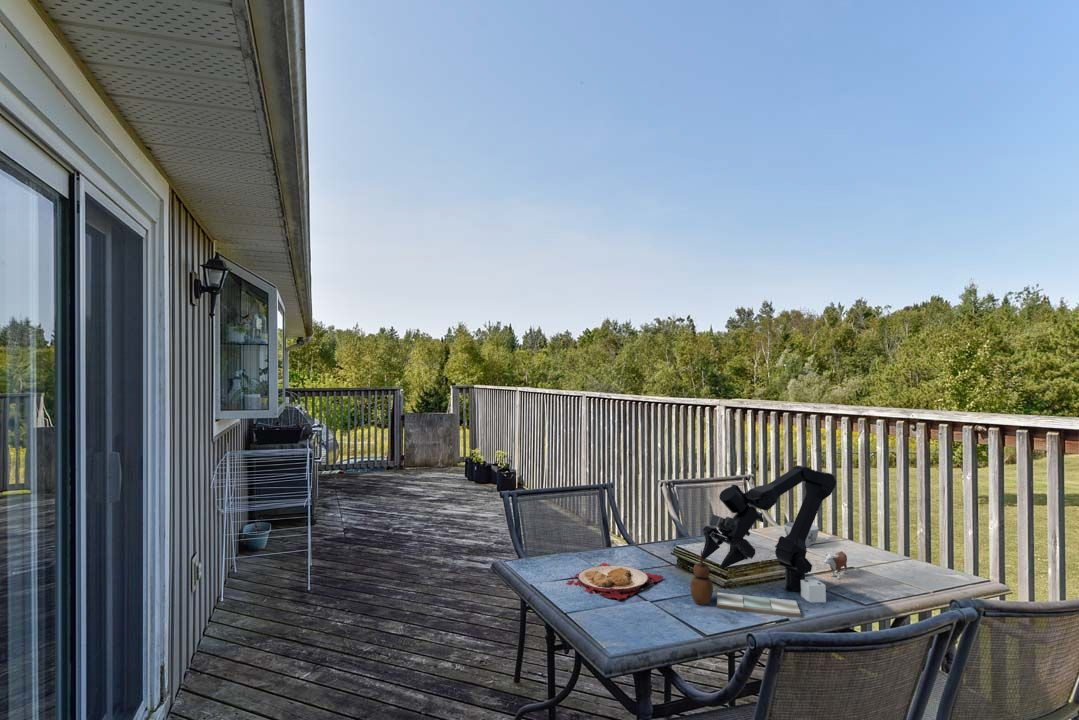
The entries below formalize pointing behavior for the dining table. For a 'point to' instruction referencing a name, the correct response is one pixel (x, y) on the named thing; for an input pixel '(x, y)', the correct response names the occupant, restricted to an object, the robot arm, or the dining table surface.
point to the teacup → (811, 535)
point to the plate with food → (614, 580)
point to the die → (813, 590)
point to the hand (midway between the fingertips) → (711, 563)
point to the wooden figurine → (701, 584)
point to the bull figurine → (837, 563)
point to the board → (758, 604)
